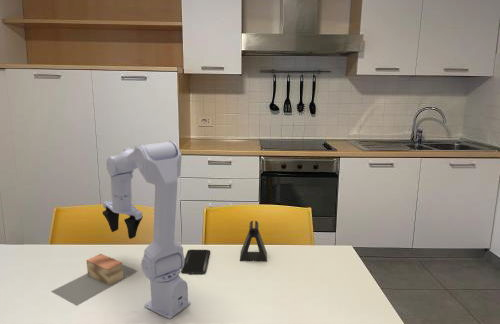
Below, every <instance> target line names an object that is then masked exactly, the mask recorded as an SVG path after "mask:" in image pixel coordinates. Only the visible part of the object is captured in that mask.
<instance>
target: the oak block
mask: <svg viewBox="0 0 500 324" xmlns="http://www.w3.org/2000/svg"><path fill="white" fill-rule="evenodd" d="M122 265H123V262H122V261H120V260H117V259H115V258H112V257H110V256H108V255H105V254H103V253H98V254H97V255H95V256H92V257H90V258H88V259H86V270H87V273H88V275H89V276H91V277H93V278H95V279H97V280H99V281H101V282H104V283H106V284H108V285H111V284H112V283H114V282H116V281H118V280H120V279H121V278H123V268H122Z"/></svg>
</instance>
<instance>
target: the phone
mask: <svg viewBox="0 0 500 324" xmlns="http://www.w3.org/2000/svg"><path fill="white" fill-rule="evenodd" d="M210 255H211V250H210V249H188V250H187V252H186V254H185V256H184V259H185V263H184V266H183V268H182V269H180V274H184V275H196V276H197V275H205V274H206V273H207V271H208V270H207V269H208V265H209V261H210Z"/></svg>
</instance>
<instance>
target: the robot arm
mask: <svg viewBox="0 0 500 324" xmlns="http://www.w3.org/2000/svg"><path fill="white" fill-rule="evenodd" d="M137 169H138V171H139V173H141V176H142V177H143V179H144V180H145V182H146V183H148V184H151V185H154V207H153V210H154V211H153V212H154V213H153V239H152V242H151V243H149V244H148V245H147V246H146V248H145V249H144V250H143V257H142V259H141V269H142V273H143V274H144V276H145V277H146V278H147V279H148V280H149V281H150V283H149V286H150V298H151V300H149V301H148V302H146V303H145V304H144V308H146V309H148V310H151V311H152V312H154V313H157V314H159V315H160V316H163V317H165V318H166V319H172V318H174V316H176V315H177V314H179V313H180V312H181V311H183V310H184V309H185V308H187V307H188V306H189V305H190V304H191V301H189V292H188V291H189V290H188V287H189V286H188V283H187V281H186V280H185V279H183V278H182V277H181V276H180V275H179V274H181V269H182V268H183V266H184V263H185V255H184V247H183V246H182V244H181V243H180V241H178V240H176V239H175V229H176V213H177V196H178V179H179V177H180V176H181V169H182V152H181V150H180V147H179V146H178V144H177V143H176V142H175V141H173V140H169V141H165V142H159V143H158V142H157V143H149V144H138V145H134V148H131V147H125V148H123V151H120V152H118V153H117V155H109V156H108V157H107V158H106V170H107V172H108V174H109V176H110V191H111V192H110V193H111V200H105V201H103V203H102V206H103V209H105V210H103V211H102V215H103V216H104V218H105V219H106V221H107V223H108V226H109V229H110V231H111V232H112V233H114V232H117V231H118V230H119V221H120V220H119V217H120V215H127V216H129V217H127V218H125V219H123V220H124V223H125V225H126V228H127V229H126V230H127V236H128V239H129V240H132V239H135V238H136V236H137V231H138V228H139V225H140V223H141V222H142V220H143V217H144V216H143V212H142V211H141V210H139V209H137V208H136V207H135V203H134V202H133V200H132V199H133V197H132V179H133V177H134V175H133V173H134V172H135V171H134V170H137Z"/></svg>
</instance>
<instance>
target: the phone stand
mask: <svg viewBox="0 0 500 324" xmlns="http://www.w3.org/2000/svg"><path fill="white" fill-rule="evenodd" d="M253 238H255V241H256V244H257V248H258V251H249V249H250V245H251V242H252V239H253ZM267 253H268V252H267V249H266V246H265V244H264V242H263V238H262V235H261V233H260V229H259V222H258V221H257V220H255V222H254V220H251V221H250V222H249V229H248V232H247V235H246V237H245V239H244V241H243V245H242V247H241V250H240V255H239V261H240V262H263V263H264V262H266V263H267V262H268V254H267Z"/></svg>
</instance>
